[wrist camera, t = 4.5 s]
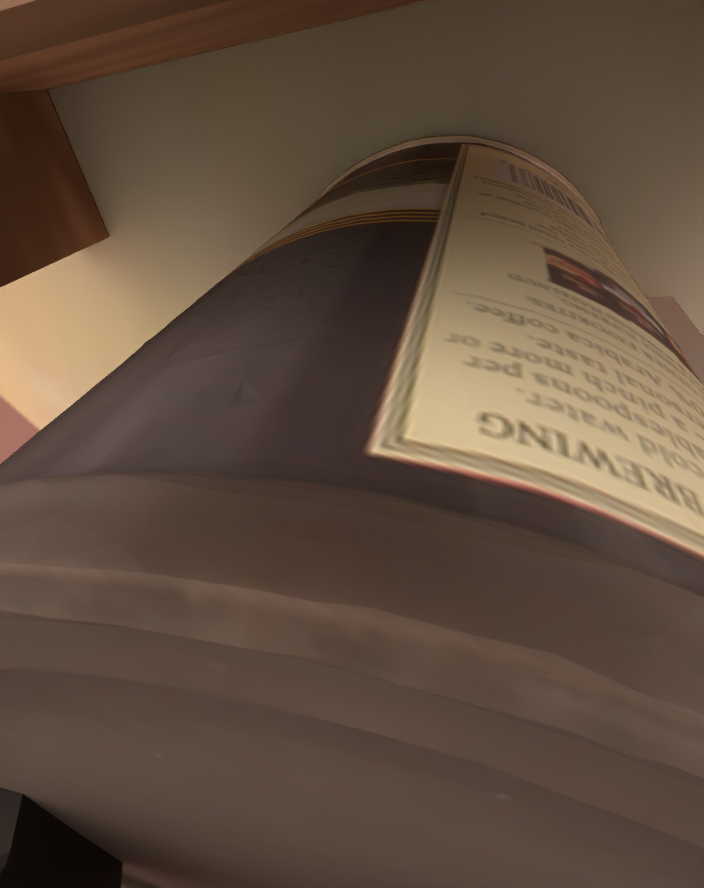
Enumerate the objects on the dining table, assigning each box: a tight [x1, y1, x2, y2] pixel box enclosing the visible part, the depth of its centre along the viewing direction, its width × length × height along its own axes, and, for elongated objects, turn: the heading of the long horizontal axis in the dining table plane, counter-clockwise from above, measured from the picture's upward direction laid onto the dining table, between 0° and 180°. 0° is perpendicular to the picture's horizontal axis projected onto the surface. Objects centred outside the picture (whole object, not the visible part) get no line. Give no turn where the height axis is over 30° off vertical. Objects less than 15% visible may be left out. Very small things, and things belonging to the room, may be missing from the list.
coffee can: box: [0, 136, 704, 888], centre depth 10 cm, size 10×10×14 cm
